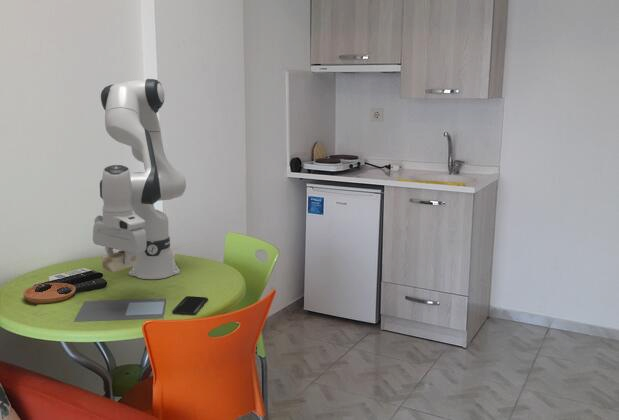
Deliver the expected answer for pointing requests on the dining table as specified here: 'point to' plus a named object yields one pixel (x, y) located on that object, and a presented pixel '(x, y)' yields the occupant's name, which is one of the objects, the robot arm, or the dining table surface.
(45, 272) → the dining table surface
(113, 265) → the card box
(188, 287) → the dining table surface
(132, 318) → the mat
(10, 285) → the dining table surface
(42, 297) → the saucer
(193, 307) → the phone
